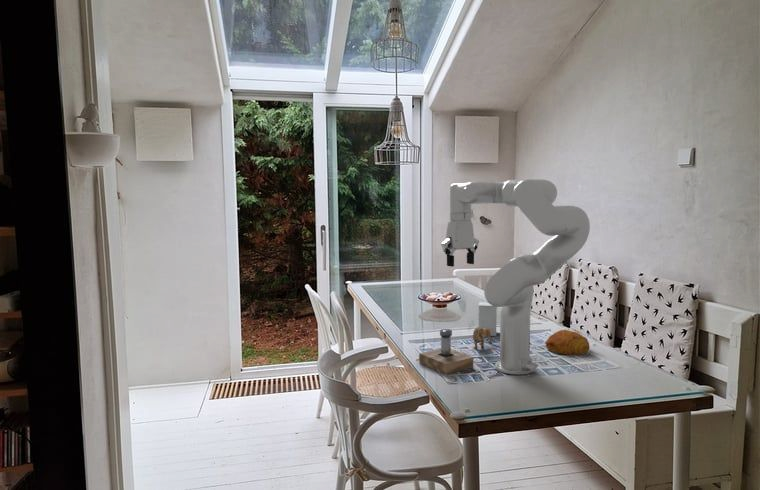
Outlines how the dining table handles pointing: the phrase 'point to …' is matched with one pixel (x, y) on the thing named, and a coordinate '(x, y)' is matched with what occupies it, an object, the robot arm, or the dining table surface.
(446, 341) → the key peg
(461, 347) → the dining table surface
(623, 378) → the dining table surface
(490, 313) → the supplement box
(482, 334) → the lion figurine
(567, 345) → the croissant
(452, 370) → the block
